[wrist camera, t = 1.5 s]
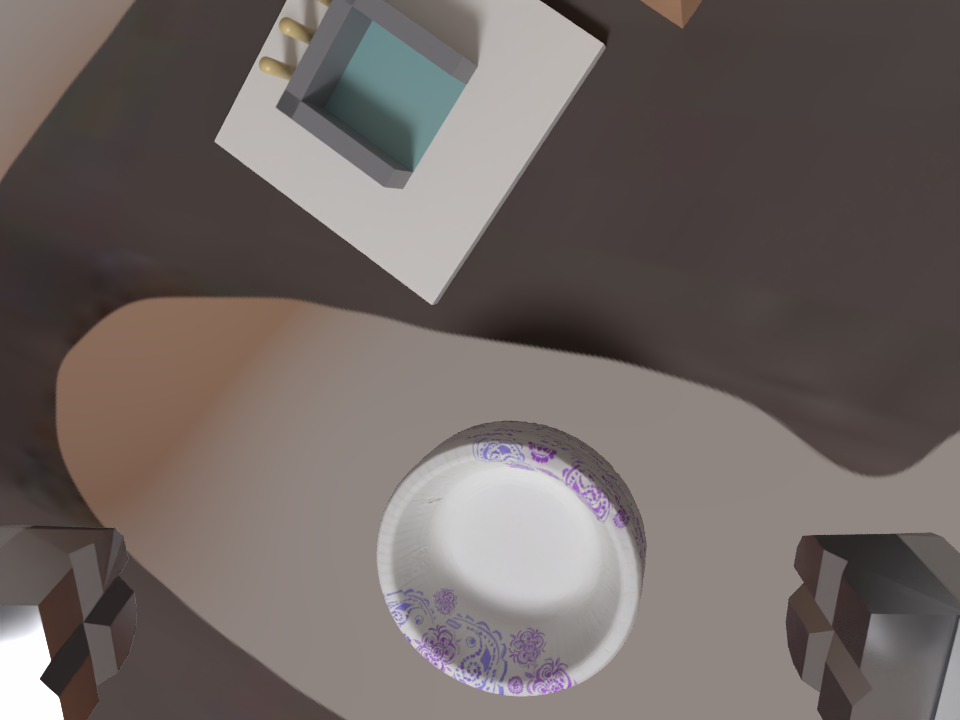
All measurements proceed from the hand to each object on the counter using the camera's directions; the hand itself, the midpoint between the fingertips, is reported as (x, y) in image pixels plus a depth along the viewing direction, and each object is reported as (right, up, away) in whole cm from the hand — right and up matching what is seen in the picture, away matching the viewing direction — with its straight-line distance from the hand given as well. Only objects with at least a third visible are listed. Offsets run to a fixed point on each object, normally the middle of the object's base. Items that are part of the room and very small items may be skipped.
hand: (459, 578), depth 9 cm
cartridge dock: (-5, +19, +38) cm, 43 cm away
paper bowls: (+3, -8, +41) cm, 42 cm away
